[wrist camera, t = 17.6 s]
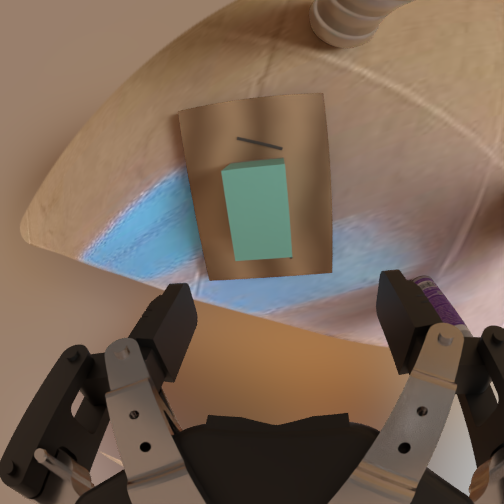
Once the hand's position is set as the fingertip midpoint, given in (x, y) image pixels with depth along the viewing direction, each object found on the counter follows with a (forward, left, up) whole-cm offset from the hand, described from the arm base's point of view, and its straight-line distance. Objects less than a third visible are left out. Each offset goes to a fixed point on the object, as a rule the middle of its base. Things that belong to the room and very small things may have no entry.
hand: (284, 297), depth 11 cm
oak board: (+2, 0, -19) cm, 19 cm away
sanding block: (+2, 0, -17) cm, 17 cm away
